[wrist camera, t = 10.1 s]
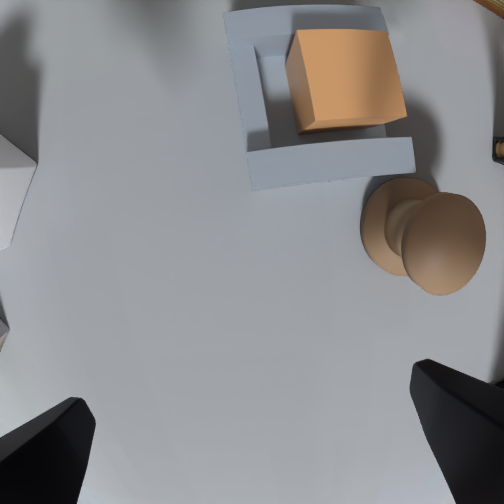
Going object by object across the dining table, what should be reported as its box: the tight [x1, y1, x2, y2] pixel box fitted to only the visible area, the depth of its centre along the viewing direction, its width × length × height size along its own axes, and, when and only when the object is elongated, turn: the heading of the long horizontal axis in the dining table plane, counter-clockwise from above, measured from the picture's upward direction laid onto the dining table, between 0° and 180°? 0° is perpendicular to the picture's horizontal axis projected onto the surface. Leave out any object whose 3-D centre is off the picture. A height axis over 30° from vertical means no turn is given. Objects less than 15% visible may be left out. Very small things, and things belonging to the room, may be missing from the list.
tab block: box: [285, 29, 407, 135], centre depth 13 cm, size 4×4×5 cm
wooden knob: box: [360, 178, 486, 296], centre depth 15 cm, size 6×6×6 cm
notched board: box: [223, 5, 416, 191], centre depth 14 cm, size 9×8×4 cm
